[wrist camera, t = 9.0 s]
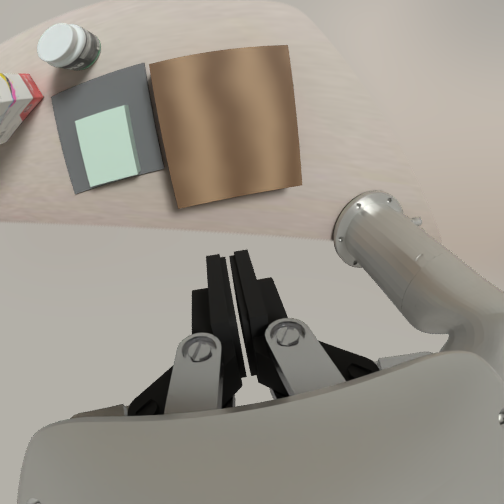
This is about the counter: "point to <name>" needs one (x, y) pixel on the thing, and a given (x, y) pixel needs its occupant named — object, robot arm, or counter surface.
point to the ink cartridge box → (16, 101)
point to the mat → (101, 99)
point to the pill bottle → (68, 47)
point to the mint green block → (108, 145)
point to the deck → (228, 123)
